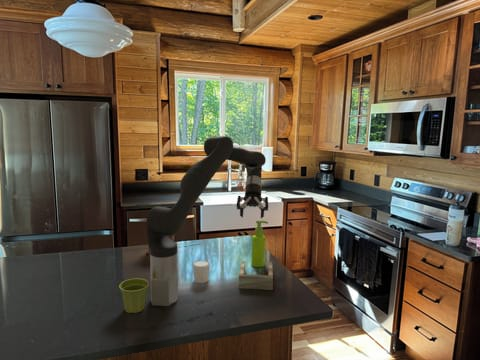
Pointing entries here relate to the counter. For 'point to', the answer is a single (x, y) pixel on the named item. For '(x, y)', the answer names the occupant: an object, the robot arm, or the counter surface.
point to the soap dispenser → (258, 246)
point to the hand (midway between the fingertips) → (251, 217)
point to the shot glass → (201, 271)
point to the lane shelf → (256, 279)
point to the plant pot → (134, 294)
